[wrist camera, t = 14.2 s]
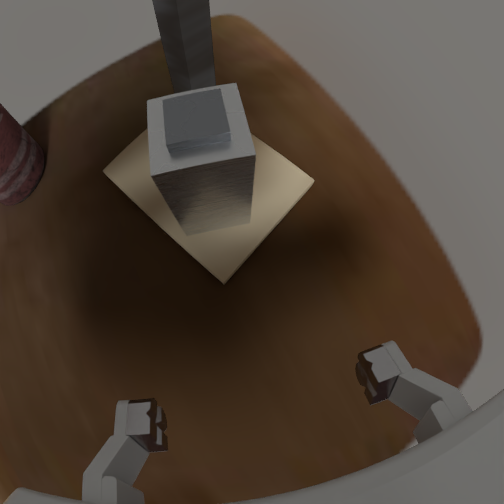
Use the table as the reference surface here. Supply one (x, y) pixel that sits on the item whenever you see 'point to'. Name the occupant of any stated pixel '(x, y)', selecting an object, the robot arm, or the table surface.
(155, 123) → the grey square pillar
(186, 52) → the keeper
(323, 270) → the table surface
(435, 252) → the table surface
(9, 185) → the can
